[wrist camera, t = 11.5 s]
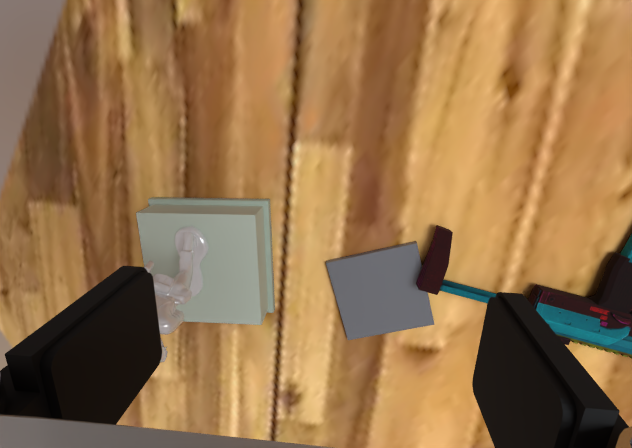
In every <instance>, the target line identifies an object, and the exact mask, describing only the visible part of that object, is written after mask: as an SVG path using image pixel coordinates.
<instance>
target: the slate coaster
mask: <svg viewBox="0 0 632 448" xmlns="http://www.w3.org/2000/svg"><path fill="white" fill-rule="evenodd" d="M326 265H327V269H328V272H329V276H330V279H331V283H332V286H333V289H334V293H335V296H336V300H337V303H338V307H339V310H340V314H341V317H342V321H343V324H344V328H345V331H346V335H347V338H348V340H352V339H357V338H363V337H368V336H373V335H379V334H384V333H390V332H395V331H401V330H406V329H412V328H417V327H423V326H428V325H434V321H433V316H432V311H431V307H430V302H429V297H428V293H427V292H425V291H421V290H418V287H417V285H416V281H417V278H418V276H419V273H420V271H421V268H422V265H421V260H420V256H419V251H418V246H417V243H416V241H414V242H410V243H405V244H401V245H396V246H392V247H387V248H382V249H378V250H373V251H369V252H364V253H360V254H355V255H351V256H346V257H341V258H337V259H332V260H328V261H326Z"/></svg>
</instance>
